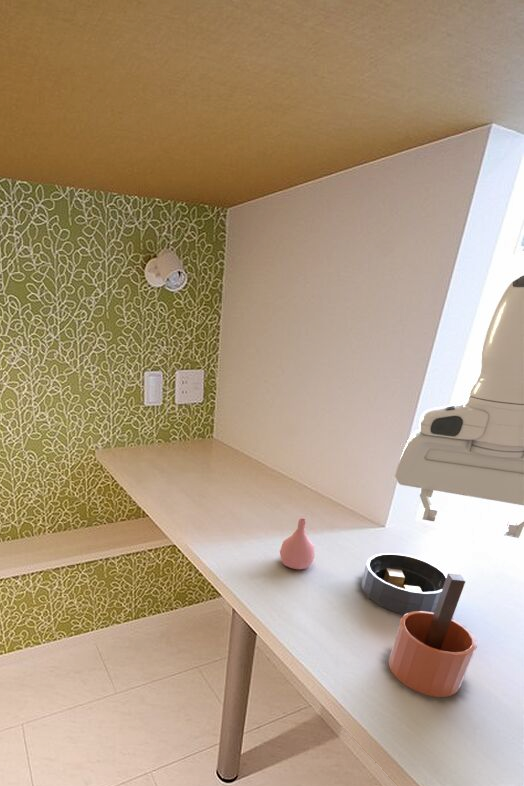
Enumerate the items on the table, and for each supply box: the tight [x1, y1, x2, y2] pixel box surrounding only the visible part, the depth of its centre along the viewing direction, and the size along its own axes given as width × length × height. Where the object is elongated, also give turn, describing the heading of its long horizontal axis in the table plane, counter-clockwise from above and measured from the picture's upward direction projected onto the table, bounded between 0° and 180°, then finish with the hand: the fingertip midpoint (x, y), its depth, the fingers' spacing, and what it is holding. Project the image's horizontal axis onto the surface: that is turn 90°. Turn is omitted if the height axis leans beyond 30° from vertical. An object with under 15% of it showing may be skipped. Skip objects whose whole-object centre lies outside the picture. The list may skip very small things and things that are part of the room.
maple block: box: [384, 568, 405, 588], centre depth 92 cm, size 3×3×3 cm
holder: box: [388, 611, 478, 698], centre depth 68 cm, size 10×10×9 cm
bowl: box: [360, 552, 448, 615], centre depth 89 cm, size 15×15×6 cm
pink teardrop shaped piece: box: [279, 517, 316, 570], centre depth 98 cm, size 8×8×12 cm
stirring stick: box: [424, 573, 466, 650], centre depth 66 cm, size 2×2×18 cm
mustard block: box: [403, 585, 422, 592], centre depth 86 cm, size 3×3×3 cm
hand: (467, 526), depth 58 cm, fingers open, 8 cm apart
